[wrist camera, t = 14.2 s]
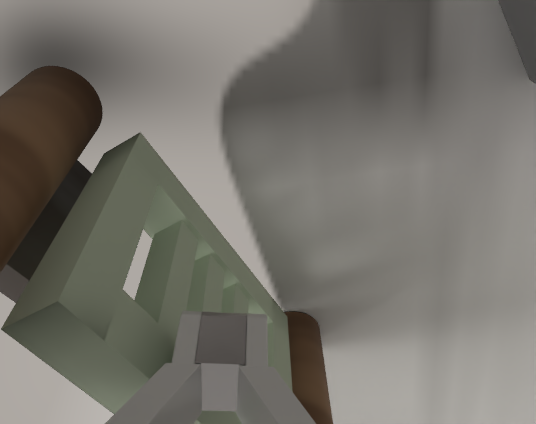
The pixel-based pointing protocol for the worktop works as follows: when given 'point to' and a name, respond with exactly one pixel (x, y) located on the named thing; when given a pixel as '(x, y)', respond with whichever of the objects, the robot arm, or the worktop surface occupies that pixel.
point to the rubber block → (523, 30)
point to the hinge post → (308, 366)
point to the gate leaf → (150, 287)
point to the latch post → (40, 165)
